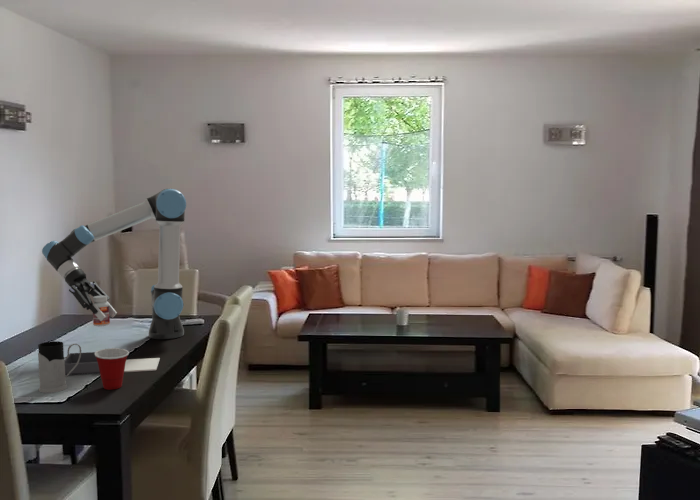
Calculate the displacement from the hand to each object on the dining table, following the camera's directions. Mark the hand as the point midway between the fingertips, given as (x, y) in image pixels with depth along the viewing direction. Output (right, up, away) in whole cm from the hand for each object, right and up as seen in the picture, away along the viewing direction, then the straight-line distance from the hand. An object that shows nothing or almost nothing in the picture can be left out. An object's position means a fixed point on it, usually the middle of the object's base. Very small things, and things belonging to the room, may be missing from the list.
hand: (108, 316), depth 267 cm
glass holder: (-2, -20, -40) cm, 44 cm away
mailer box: (+7, -17, -16) cm, 24 cm away
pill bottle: (-3, -4, +2) cm, 5 cm away
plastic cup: (+16, -20, -40) cm, 47 cm away
